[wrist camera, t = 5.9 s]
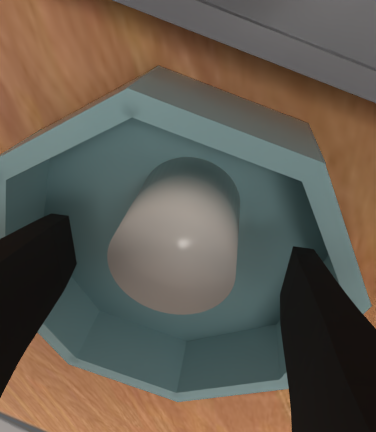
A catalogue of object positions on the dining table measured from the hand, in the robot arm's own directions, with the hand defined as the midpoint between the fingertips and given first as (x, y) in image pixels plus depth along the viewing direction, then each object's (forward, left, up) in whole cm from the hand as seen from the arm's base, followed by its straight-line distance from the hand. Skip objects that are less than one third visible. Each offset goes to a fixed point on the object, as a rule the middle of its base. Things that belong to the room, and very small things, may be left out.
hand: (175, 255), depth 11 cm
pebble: (0, 0, -3) cm, 3 cm away
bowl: (0, +2, -4) cm, 5 cm away
